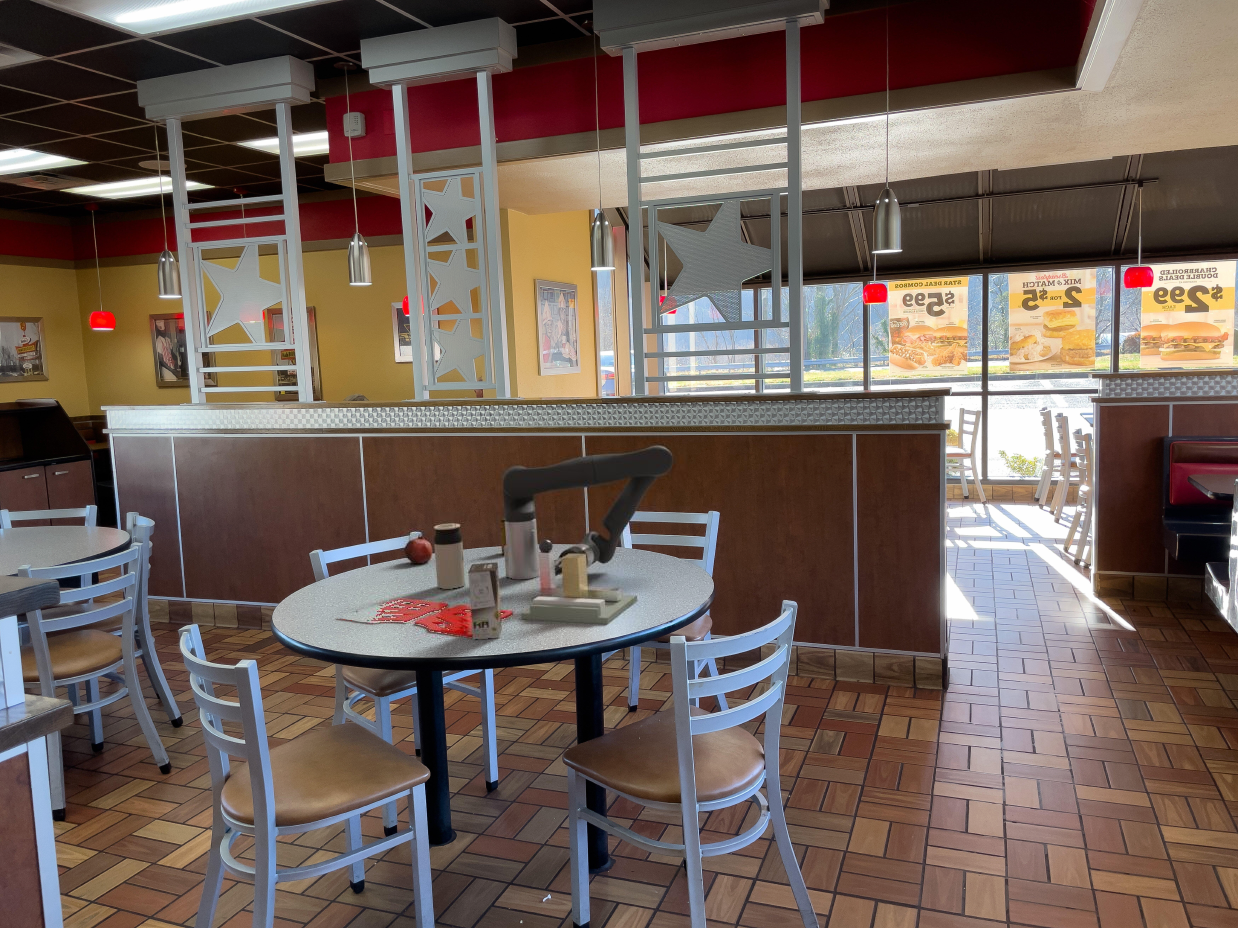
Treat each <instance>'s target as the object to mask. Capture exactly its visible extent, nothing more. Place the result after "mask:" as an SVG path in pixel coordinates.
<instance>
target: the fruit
mask: <svg viewBox="0 0 1238 928" xmlns="http://www.w3.org/2000/svg"><path fill="white" fill-rule="evenodd" d="M424 536H425V535H424V534H422V535H421V533H419V534H418V536H417V537H416V538H412V539H411V540H409V541H408V542H407V543H406V544H405V547H404V549H403V551H404V555H405V557H406V559H407V560H409V562H410V564H411V563H417V564H422V563H421V562H426V561H428V562H430V560H431V559H432V557H433V556H432V555H433V547H432V545H431V543H430V542H429V541H427V539H425V538H424Z"/></svg>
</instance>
